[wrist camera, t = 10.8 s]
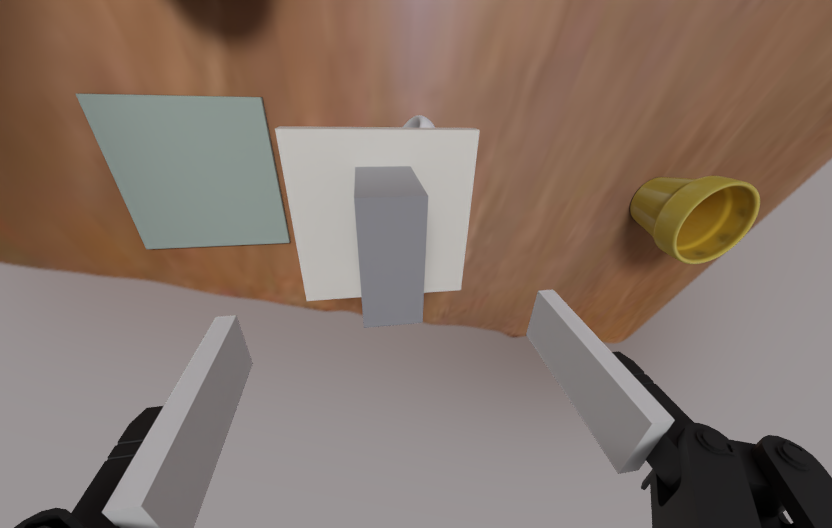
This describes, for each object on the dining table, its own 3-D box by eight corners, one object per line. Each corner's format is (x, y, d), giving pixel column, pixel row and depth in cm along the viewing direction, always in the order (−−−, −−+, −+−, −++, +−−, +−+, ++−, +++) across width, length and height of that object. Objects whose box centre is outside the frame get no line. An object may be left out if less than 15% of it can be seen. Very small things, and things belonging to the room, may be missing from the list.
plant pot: (616, 178, 42) (680, 202, 34) (690, 150, 42) (772, 168, 34) (615, 242, 48) (670, 276, 39) (681, 218, 47) (749, 247, 39)
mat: (148, 247, 37) (146, 249, 37) (79, 93, 29) (75, 93, 29) (290, 241, 40) (289, 242, 39) (262, 97, 31) (260, 97, 31)
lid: (308, 292, 29) (292, 361, 22) (279, 126, 22) (240, 148, 15) (457, 283, 31) (486, 342, 24) (474, 127, 24) (523, 147, 17)
